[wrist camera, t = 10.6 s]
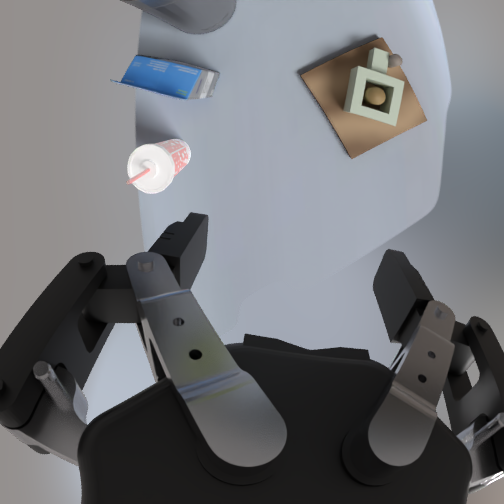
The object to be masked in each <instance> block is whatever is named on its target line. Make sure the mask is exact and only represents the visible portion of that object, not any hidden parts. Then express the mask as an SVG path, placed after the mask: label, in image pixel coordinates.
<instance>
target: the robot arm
mask: <svg viewBox="0 0 504 504" xmlns="http://www.w3.org/2000/svg"><path fill="white" fill-rule="evenodd" d="M121 1H123V2H125V3H128V4H130V5H132V6H135V7H137V8H139V9H141V10H143V11H145V12H147V13H149V14H151V15H153V16H155V17H157V18H159V19H161V20H163V21H165V22H167V23H169V24H171V25H172V26H174V27H176V28H178V29H180V30H181V31H184V32H186V33H190V34H204V33H209V32H212V31H215V30H216V29H218V28H220V27H222V26H223V25H224V24H226V23H227V22H228V20H229V19H230V18H231V17H232V15H233V13H234V11H235V7H236V0H121ZM207 233H208V215H205V214H198V213H192V212H191V213H190V214H189V215H188V216H187V218H186V219H185V220H184V222H178V221H177V222H175V223H173V224H171V225H169V226H168V227H167V228H166V230H165V231H164V233H162V234H161V236H160V238H158V239H157V241H156V242H155V243H154V244H153V246H152V247H151V248H150V249H149V251H148V252H141V253H137V254H135V255H133V256H131V257H130V258H129V259H128V260H127V262H126V265H106V264H105V259H104V257H103V256H102V255H101V254H99V253H96V252H86V253H82V254H79V255H77V256H75V257H74V258H73V259H71V260H70V261H69V263H68V264H67V265H66V266H65V267H64V268H63V269H62V270H61V272H60V273H59V274H58V275H57V276H56V277H55V278H54V279H53V281H52V282H51V283H50V284H49V285H48V286H47V288H46V289H45V290H44V291H43V292H42V294H41V295H40V296H39V297H38V299H37V300H36V301H35V302H34V304H33V305H32V306H31V307H30V309H29V310H28V311H27V312H26V314H25V315H24V316H23V318H22V319H21V321H20V322H19V323H18V325H17V326H16V327H15V329H14V330H13V331H12V333H11V334H10V335H9V337H8V338H7V340H6V341H5V343H4V344H3V346H2V347H1V349H0V424H1V425H2V426H3V427H5V428H6V429H7V430H8V431H9V432H10V433H11V434H13V435H14V436H15V437H16V438H17V439H19V440H20V441H21V442H23V443H25V444H27V445H28V446H29V447H30V448H32V449H33V450H34V451H36V452H38V453H40V454H49V453H52V454H54V455H56V456H58V457H60V458H62V459H64V460H66V461H68V462H70V463H72V464H74V465H76V466H79V470H80V476H81V485H82V500H81V504H466V502H467V496H468V493H474V492H476V491H478V490H480V489H482V488H484V487H486V486H488V485H490V484H491V483H493V482H495V481H497V480H499V479H500V478H502V477H504V352H503V350H502V348H501V346H500V344H499V342H498V340H497V338H496V336H495V334H494V332H493V331H492V329H491V327H490V326H489V324H488V323H487V322H486V321H484V320H483V319H481V318H479V317H476V316H473V317H471V318H470V320H469V322H468V323H467V324H466V325H465V324H462V323H460V322H457V321H455V315H454V313H453V311H452V310H451V309H450V308H449V307H448V306H447V305H445V304H444V303H442V302H440V301H435V300H434V298H433V296H432V295H431V293H430V291H429V289H428V288H427V286H426V285H425V282H424V281H423V280H422V277H421V276H420V274H419V272H418V271H417V270H416V269H415V268H414V267H413V266H412V265H411V264H410V262H409V261H408V259H407V257H406V256H405V254H404V253H403V252H400V251H396V250H391V249H388V250H386V252H385V254H384V256H383V259H382V261H381V264H380V266H379V268H378V271H377V273H376V275H375V278H374V282H373V291H374V294H375V296H376V299H377V302H378V305H379V308H380V311H381V314H382V317H383V320H384V323H385V326H386V329H387V333H388V336H389V339H390V342H391V343H402V346H401V347H400V349H399V350H398V352H397V354H396V355H395V357H394V359H393V361H392V362H391V364H390V366H389V367H388V368H387V367H386V366H384V365H382V364H380V363H378V362H376V361H374V360H371V359H370V357H369V353H368V350H365V349H354V348H344V347H338V348H329V349H318V350H308V349H305V348H302V347H299V346H296V345H293V344H290V343H287V342H284V341H282V340H279V339H274V338H268V337H261V336H256V335H250V334H245V336H244V342H243V343H234V344H227V345H224V344H223V342H222V341H221V339H220V338H219V336H218V335H217V333H216V331H215V330H214V328H213V327H212V325H211V323H210V322H209V320H208V319H207V317H206V315H205V314H204V312H203V310H202V309H201V307H200V305H199V304H198V302H197V300H196V299H195V297H194V295H193V294H192V292H191V291H190V289H191V287H192V285H193V282H194V280H195V278H196V276H197V274H198V272H199V269H200V267H201V265H202V263H203V261H204V258H205V254H206V247H207ZM115 323H136V327H137V330H138V332H139V336H140V338H141V341H142V344H143V347H144V349H145V352H146V355H147V358H148V360H149V363H150V366H151V370H152V373H153V376H154V379H155V382H156V383H155V384H153V385H152V386H150V387H148V388H147V389H145V390H143V391H142V392H140V393H138V394H136V395H135V396H133V397H131V398H129V399H127V400H125V401H124V402H122V403H120V404H118V405H116V406H115V407H113V408H111V409H109V410H107V411H105V412H104V413H102V414H100V415H99V416H97V417H96V418H94V419H93V420H92V421H91V422H90V423H89V424H88V425H87V423H86V415H87V410H88V402H87V399H86V397H85V395H84V394H83V392H82V389H83V387H84V385H85V383H86V381H87V379H88V376H89V374H90V372H91V370H92V368H93V366H94V364H95V362H96V360H97V358H98V356H99V354H100V352H101V350H102V348H103V346H104V344H105V342H106V340H107V338H108V336H109V334H110V332H111V330H112V329H113V327H114V325H115ZM474 361H476V363H477V366H478V369H479V372H480V377H479V380H478V382H477V384H476V385H475V386H474V387H473V388H472V386H471V383H470V380H469V377H468V374H467V372H466V370H467V369H468V368H469V367H470V365H471V364H472V363H473V362H474ZM442 391H443V394H444V398H445V402H446V406H447V411H448V415H449V420H450V424H451V429H452V431H451V430H450V429H449V428H448V427H447V426H446V425H445V424H444V423H443V422H442V421H441V420H440V419H439V418H438V417H437V412H436V407H437V404H438V401H439V398H440V396H441V393H442Z"/></svg>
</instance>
